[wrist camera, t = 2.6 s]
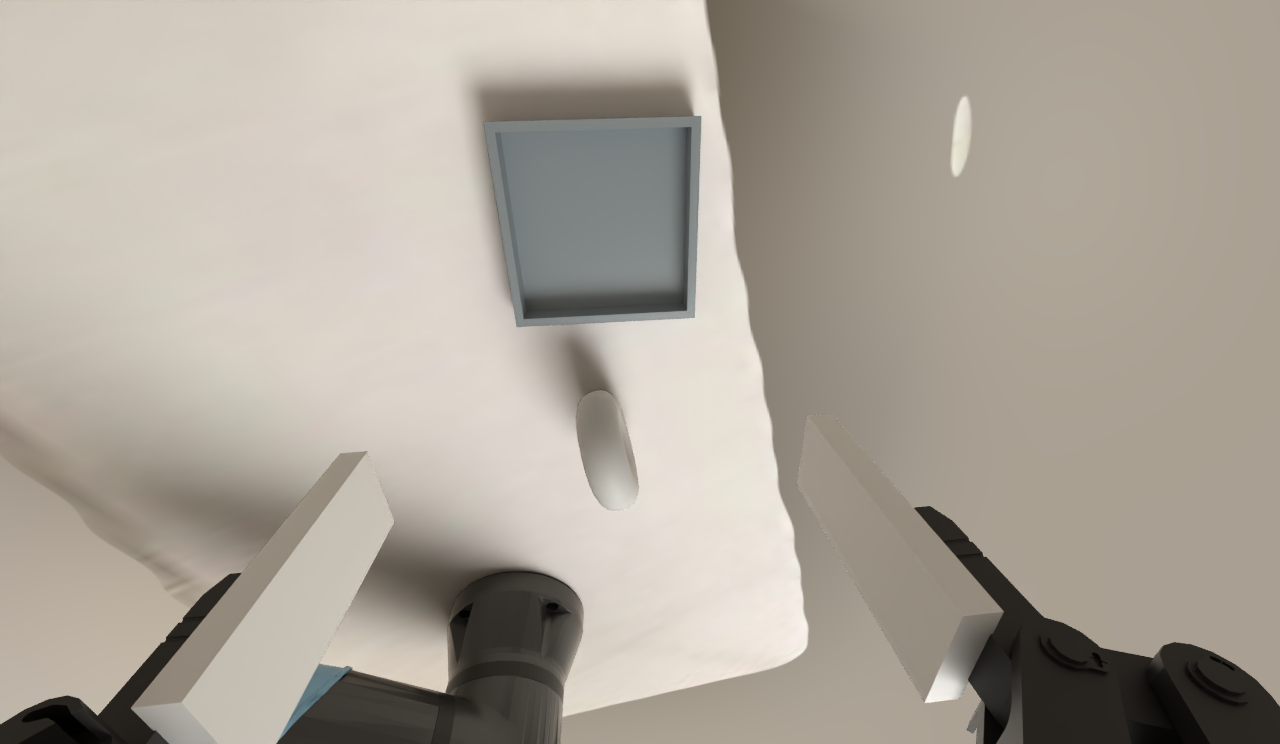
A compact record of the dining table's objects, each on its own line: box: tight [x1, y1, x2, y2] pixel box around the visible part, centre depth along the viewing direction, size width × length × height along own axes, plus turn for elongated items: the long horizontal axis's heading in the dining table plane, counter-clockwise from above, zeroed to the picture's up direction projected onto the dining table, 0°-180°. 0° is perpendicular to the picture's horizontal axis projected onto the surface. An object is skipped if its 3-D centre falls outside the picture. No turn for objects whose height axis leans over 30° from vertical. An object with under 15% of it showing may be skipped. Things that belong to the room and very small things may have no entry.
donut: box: [576, 390, 639, 511], centre depth 37 cm, size 10×4×10 cm, turn 13°
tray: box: [483, 116, 701, 327], centre depth 33 cm, size 14×14×2 cm
